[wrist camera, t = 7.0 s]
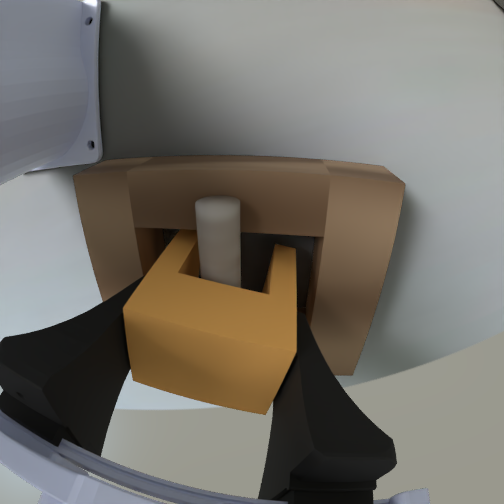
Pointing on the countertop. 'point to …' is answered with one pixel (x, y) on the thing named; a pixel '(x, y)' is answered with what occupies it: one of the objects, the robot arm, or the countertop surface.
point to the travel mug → (500, 3)
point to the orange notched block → (212, 330)
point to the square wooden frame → (251, 227)
